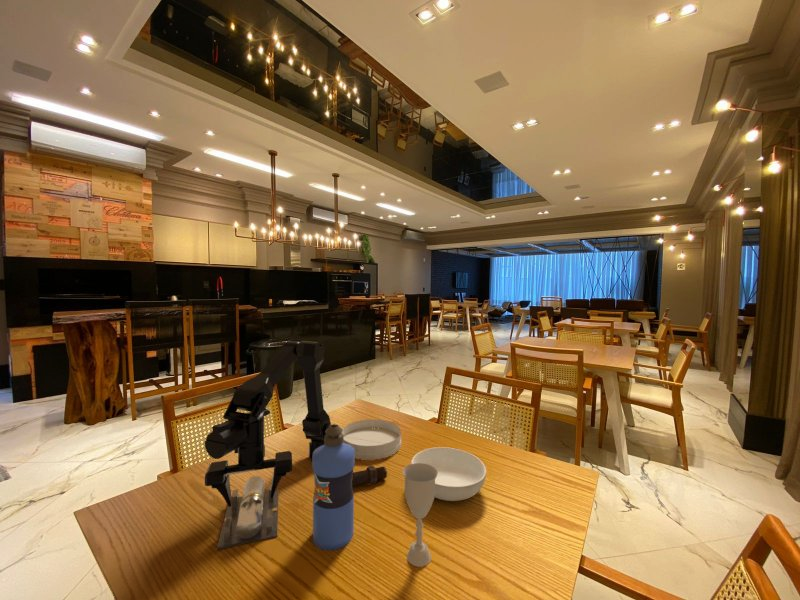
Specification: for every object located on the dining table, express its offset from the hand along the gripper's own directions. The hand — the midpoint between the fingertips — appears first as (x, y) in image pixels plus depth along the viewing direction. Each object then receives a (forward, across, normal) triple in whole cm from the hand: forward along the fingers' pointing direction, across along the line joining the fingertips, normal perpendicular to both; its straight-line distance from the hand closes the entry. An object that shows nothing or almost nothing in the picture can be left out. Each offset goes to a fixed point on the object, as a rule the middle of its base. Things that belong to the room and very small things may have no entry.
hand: (251, 501), depth 78 cm
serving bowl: (+4, -51, +5) cm, 51 cm away
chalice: (+4, -34, +24) cm, 42 cm away
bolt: (+4, -28, -4) cm, 29 cm away
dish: (+4, -37, -27) cm, 46 cm away
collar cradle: (+4, 0, 0) cm, 4 cm away
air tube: (+3, 0, 0) cm, 3 cm away
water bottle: (+4, -18, +12) cm, 22 cm away
